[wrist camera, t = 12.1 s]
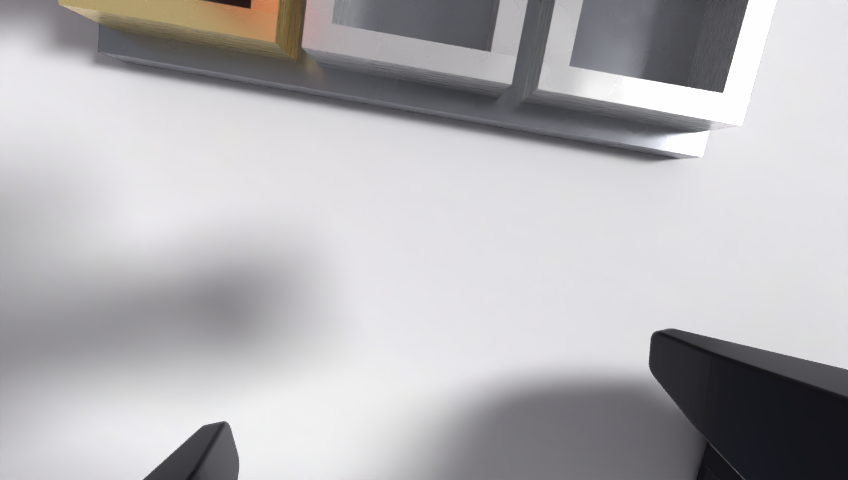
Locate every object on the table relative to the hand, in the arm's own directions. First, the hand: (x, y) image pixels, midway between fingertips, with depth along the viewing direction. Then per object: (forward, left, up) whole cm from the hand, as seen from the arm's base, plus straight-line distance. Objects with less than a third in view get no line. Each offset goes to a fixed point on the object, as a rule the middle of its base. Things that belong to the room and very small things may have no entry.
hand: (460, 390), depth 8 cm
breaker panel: (+3, -13, -12) cm, 18 cm away
